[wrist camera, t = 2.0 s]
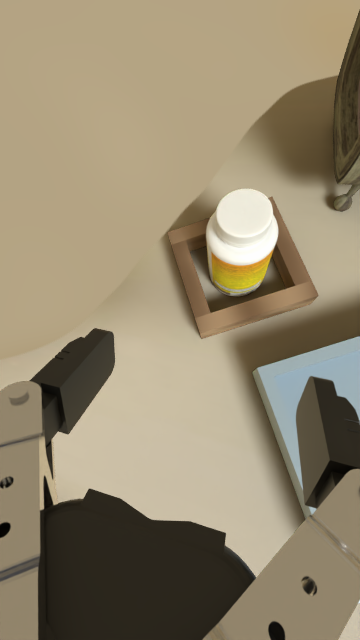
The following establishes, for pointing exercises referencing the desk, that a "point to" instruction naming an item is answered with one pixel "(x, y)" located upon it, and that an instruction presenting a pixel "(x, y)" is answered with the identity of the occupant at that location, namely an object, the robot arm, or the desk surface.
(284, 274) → the holder
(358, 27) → the tabletop clock
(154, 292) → the desk surface
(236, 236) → the supplement bottle
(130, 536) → the robot arm
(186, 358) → the desk surface
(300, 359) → the tray
